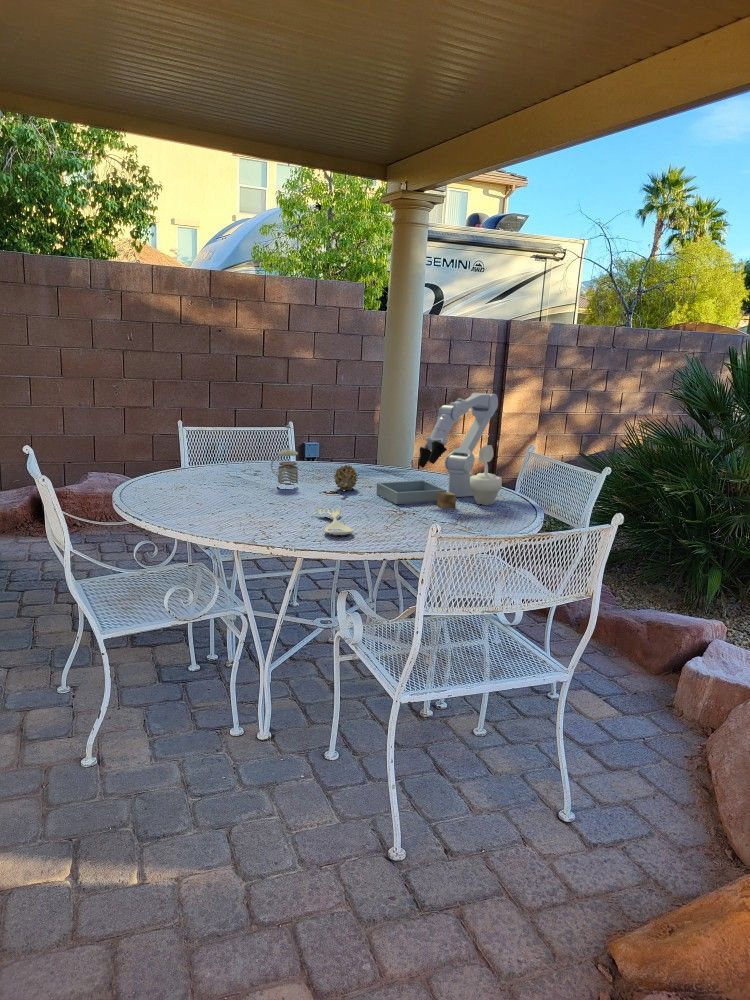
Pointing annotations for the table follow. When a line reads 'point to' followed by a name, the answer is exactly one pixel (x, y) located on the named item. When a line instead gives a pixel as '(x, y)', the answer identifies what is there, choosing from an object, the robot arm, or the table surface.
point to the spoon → (335, 523)
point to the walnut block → (446, 500)
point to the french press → (287, 467)
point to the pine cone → (345, 477)
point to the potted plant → (485, 479)
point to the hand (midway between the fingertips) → (426, 464)
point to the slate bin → (409, 492)
